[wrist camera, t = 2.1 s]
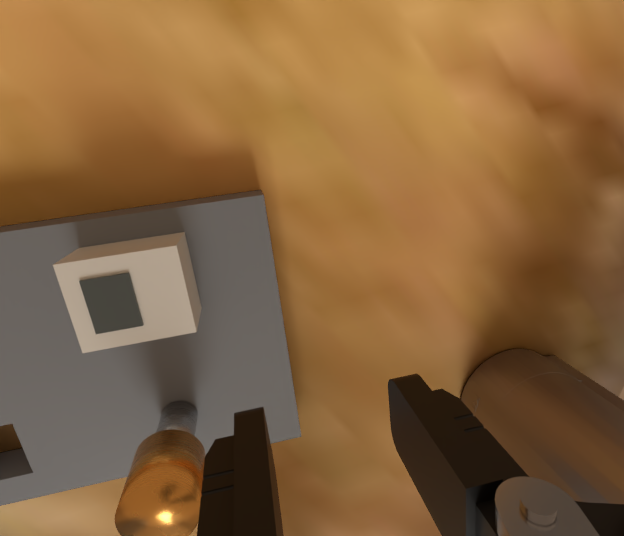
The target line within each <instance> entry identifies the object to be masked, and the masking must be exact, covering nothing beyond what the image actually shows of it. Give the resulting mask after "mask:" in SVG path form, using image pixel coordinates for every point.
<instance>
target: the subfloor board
mask: <svg viewBox="0 0 624 536" xmlns="http://www.w3.org/2000/svg"><path fill="white" fill-rule="evenodd" d="M180 232H185V236H186V240H187V245H188V249H189V254H190V258H191V263H192V267H193V272H194V276H195V281H196V285H197V289H198V294H199V298H200V303H201V307H202V309H201V314H200V318H199V323H198V328H197V332H195V333H189V334H184V335H178V336H173V337H168V338H162V339H157V340H152V341H146V342H141V343H136V344H130V345H125V346H119V347H114V348H109V349H103V350H98V351H93V352H87V353H82V350H81V347H80V344H79V341H78V338H77V335H76V332H75V329H74V326H73V324H72V321H71V318H70V315H69V312H68V309H67V306H66V303H65V300H64V297H63V294H62V291H61V288H60V285H59V282H58V279H57V276H56V273H55V270H54V267H53V264H55V263H56V262H58V261H59V260H61V259H62V258H64V257H66V256H67V255H69V254H70V253H72V252H73V251H75V250H76V249H78V248H82V247H88V246H95V245H101V244H108V243H115V242H121V241H128V240H134V239H141V238H148V237H154V236H161V235H167V234H174V233H180ZM177 400H183V401H187V402H190V403H191V404H193V405H194V406H195V407H196V409H197V412H198V417H197V424H196V431H195V437H196V438H198V439H199V440H200V442H201V443H202V445H203V447H204V449H205V456H206V454H207V453H208V451H209V449H210V447H211V446H212V444H213V442H214V440H215V439H219V438H223V437H228V436H232V435H234V413H236V412H241V411H245V410H250V409H254V408H259V407H264V412H265V417H266V422H267V427H268V433H269V438H270V444H271V443H275V442H280V441H284V440H288V439H293V438H297V437H301V431H300V425H299V418H298V412H297V406H296V399H295V393H294V386H293V380H292V374H291V367H290V361H289V354H288V348H287V342H286V335H285V329H284V322H283V316H282V309H281V303H280V297H279V290H278V284H277V277H276V271H275V265H274V258H273V252H272V245H271V239H270V233H269V226H268V220H267V213H266V207H265V200H264V195H263V193H262V191H261V190H255V191H248V192H241V193H234V194H227V195H220V196H213V197H206V198H199V199H192V200H185V201H177V202H170V203H163V204H156V205H149V206H142V207H135V208H128V209H121V210H114V211H107V212H100V213H93V214H86V215H79V216H72V217H64V218H57V219H50V220H43V221H36V222H29V223H22V224H15V225H8V226H1V227H0V426H3V425H8V424H13V427H14V429H15V431H16V434H17V436H18V438H19V441H20V443H21V445H22V448H20V449H16V450H11V451H6V452H2V453H0V506H1V505H6V504H10V503H14V502H19V501H23V500H27V499H32V498H36V497H40V496H45V495H49V494H53V493H58V492H62V491H66V490H71V489H75V488H80V487H84V486H88V485H93V484H97V483H101V482H106V481H110V480H114V479H119V478H123V477H127V476H128V474H129V471H130V468H131V465H132V462H133V459H134V456H135V453H136V450H137V448H138V446H139V445H140V444H141V442H142V441H143V440H144V439H146V438H147V437H148V436H150V435H152V434H154V433H156V431H157V428H158V424H159V421H160V417H161V413H162V411H163V409H164V407H165V406H166V405H167V404H169V403H171V402H173V401H177Z"/></svg>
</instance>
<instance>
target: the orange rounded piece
mask: <svg viewBox="0 0 624 536" xmlns="http://www.w3.org/2000/svg"><path fill="white" fill-rule="evenodd" d="M197 417H198V412H197V409H196V407H195V406H194V405H193V404H191V403H190V402H187V401H183V400H177V401H173V402H171V403H169V404H167V405H166V406H165V407H164V409H163V411H162V413H161V417H160V421H159V424H158V428H157V431H156V433H154V434H152V435H150V436H148V437H147V438H146V439H144V440H143V441H142V442H141V444H140V445H139V446H138V448H137V450H136V453H135V456H134V459H133V462H132V465H131V468H130V471H129V474H128V477H127V480H126V483H125V486H124V489H123V492H122V495H121V498H120V501H119V504H118V507H117V510H116V514H115V524H116V528H117V530H118V532H119V533H120V535H121V536H188V535H190V534H191V533H192V531H193V530H194V529H195V527H196V526H197V524H198V521H199V511H200V501H201V497H202V494H201V491H202V481H203V470H204V460H205V449H204V447H203V445H202V443H201V442H200V440H199V439H198V438H196V437H195V431H196V424H197Z"/></svg>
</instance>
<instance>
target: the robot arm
mask: <svg viewBox="0 0 624 536" xmlns="http://www.w3.org/2000/svg"><path fill="white" fill-rule="evenodd" d="M388 393H389V407H390V421H391V432H392V437H393V440H394V444H395V447H396V449H397V452H398V454H399V456H400V458H401V460H402V461H403V463H404V465H405V467H406V469H407V471H408V473H409V475H410V477H411V478H412V480H413V482H414V484H415V486H416V488H417V490H418V492H419V493H420V495H421V497H422V499H423V501H424V503H425V505H426V507H427V509H428V510H429V512H430V514H431V516H432V518H433V520H434V522H435V524H436V526H437V527H438V529H439V531H440V533H441V535H442V536H624V400H622V399H621V398H619V397H618V396H616V395H615V394H613V393H611V392H610V391H608V390H607V389H605V388H604V387H602V386H601V385H599V384H598V383H596V382H595V381H593V380H592V379H590V378H589V377H587V376H585V375H584V374H582V373H581V372H579V371H578V370H576V369H575V368H573V367H572V366H570V365H569V364H567V363H566V362H564V361H563V360H561V359H559V358H558V357H556V356H555V355H551V356H542V355H540V354H538V353H537V352H535V351H532V350H527V349H512V350H507V351H504V352H501V353H499V354H496V355H494V356H493V357H491V358H489V359H488V360H486V361H485V362H484V363H483V364H482V365H480V366H479V367H478V368H477V369H476V370H475V372H474V373H473V374H472V375H471V377H470V378H469V380H468V382H467V383H466V385H465V387H464V390H463V393H462V397H461V400H460V399H459V398H457V397H456V396H454V395H452V394H450V393H449V392H447V391H445V390H443V389H439V390H434V391H432V390H431V389H430V388H429V387H428V385H427V384H426V383H425V382H424V380H423V379H422V378H421V377H420V376H419V375H418V374H413V375H408V376H403V377H399V378H394V379H390V380H389V382H388ZM201 494H202V497H201V501H200V511H199V521H198V532H197V536H284V535H283V527H282V519H281V511H280V503H279V495H278V487H277V479H276V472H275V466H274V460H273V454H272V449H271V444H270V438H269V433H268V427H267V422H266V417H265V412H264V407H259V408H254V409H250V410H245V411H241V412H236V413H234V435H232V436H228V437H223V438H219V439H215V440H214V442H213V444H212V446H211V447H210V449H209V451H208V453H207V454H206V456H205V460H204V470H203V481H202V491H201Z"/></svg>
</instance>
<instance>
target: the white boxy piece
mask: <svg viewBox="0 0 624 536" xmlns="http://www.w3.org/2000/svg"><path fill="white" fill-rule="evenodd" d="M53 267H54V270H55V273H56V276H57V279H58V282H59V285H60V288H61V291H62V294H63V297H64V300H65V303H66V306H67V309H68V312H69V315H70V318H71V321H72V324H73V326H74V329H75V332H76V335H77V338H78V341H79V344H80V347H81V350H82V353H87V352H93V351H98V350H103V349H109V348H114V347H119V346H125V345H130V344H136V343H141V342H146V341H152V340H157V339H162V338H168V337H173V336H178V335H184V334H189V333H195V332H197V328H198V323H199V318H200V314H201V309H202V307H201V303H200V298H199V294H198V289H197V285H196V281H195V276H194V272H193V267H192V263H191V258H190V254H189V249H188V245H187V240H186V236H185V232H180V233H174V234H167V235H161V236H154V237H148V238H141V239H134V240H128V241H121V242H115V243H108V244H101V245H95V246H88V247H82V248H78V249H76V250H75V251H73V252H72V253H70V254H69V255H67V256H66V257H64V258H62V259H61V260H59V261H58V262H56V263H55V264H53Z"/></svg>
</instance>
